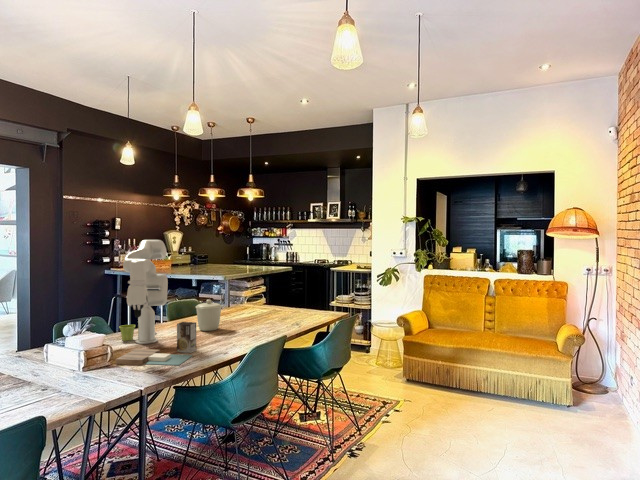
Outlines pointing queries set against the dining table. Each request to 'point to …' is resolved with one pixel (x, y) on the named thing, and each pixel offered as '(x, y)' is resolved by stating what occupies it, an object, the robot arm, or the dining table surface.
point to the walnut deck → (136, 357)
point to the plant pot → (127, 332)
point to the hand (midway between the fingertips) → (137, 316)
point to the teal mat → (171, 360)
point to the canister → (208, 315)
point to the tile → (159, 357)
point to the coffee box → (186, 337)
